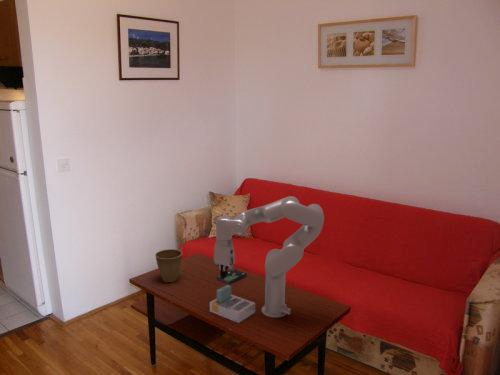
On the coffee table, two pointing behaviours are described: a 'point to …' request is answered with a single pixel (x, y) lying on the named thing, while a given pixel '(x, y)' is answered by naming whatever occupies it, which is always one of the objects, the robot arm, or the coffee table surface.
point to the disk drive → (232, 276)
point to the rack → (233, 308)
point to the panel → (223, 294)
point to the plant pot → (169, 264)
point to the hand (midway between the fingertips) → (223, 277)
